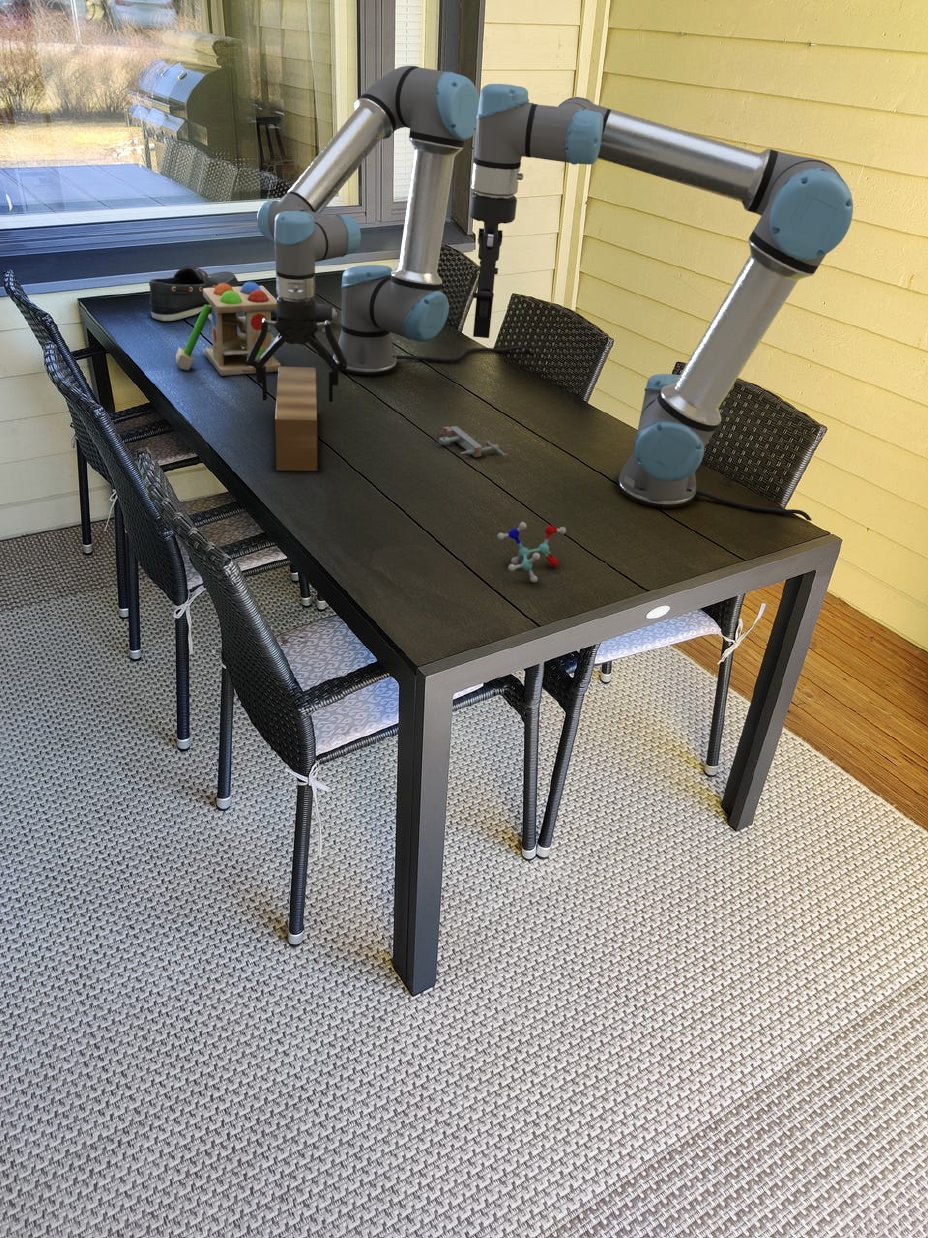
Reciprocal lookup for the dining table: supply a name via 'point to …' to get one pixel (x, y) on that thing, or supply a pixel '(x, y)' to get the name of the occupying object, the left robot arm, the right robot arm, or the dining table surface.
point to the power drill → (317, 312)
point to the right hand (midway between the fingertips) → (482, 324)
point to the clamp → (466, 442)
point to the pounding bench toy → (232, 328)
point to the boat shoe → (184, 292)
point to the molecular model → (525, 552)
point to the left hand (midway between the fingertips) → (298, 398)
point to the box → (296, 419)
